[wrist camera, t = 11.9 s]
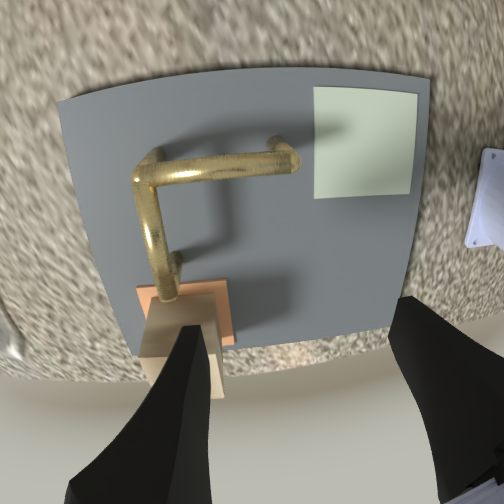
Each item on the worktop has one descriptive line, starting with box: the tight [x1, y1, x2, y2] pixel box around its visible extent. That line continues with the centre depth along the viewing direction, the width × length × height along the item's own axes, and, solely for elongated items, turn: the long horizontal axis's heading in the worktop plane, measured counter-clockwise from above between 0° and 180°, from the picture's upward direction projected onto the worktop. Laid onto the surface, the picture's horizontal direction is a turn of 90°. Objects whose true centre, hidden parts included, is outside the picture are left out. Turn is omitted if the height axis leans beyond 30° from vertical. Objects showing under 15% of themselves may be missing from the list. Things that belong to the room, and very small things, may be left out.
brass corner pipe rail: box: [131, 136, 301, 304], centre depth 15 cm, size 7×7×4 cm
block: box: [138, 293, 224, 399], centre depth 18 cm, size 4×4×5 cm
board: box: [57, 67, 430, 355], centre depth 19 cm, size 20×18×1 cm
